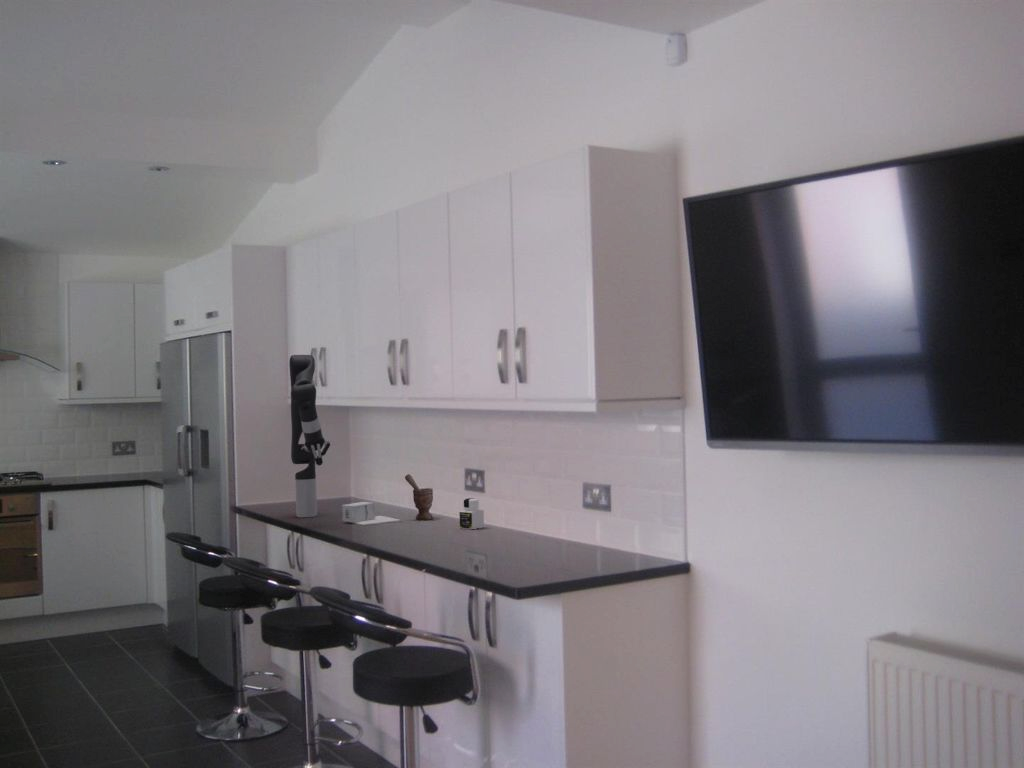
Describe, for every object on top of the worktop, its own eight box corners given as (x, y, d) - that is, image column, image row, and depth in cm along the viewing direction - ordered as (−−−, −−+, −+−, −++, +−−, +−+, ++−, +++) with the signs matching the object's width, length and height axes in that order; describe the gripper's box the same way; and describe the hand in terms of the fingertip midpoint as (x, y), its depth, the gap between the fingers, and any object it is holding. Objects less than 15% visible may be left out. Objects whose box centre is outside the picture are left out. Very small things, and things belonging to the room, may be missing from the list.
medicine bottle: (459, 528, 425) (458, 499, 425) (472, 526, 431) (471, 497, 431) (472, 529, 421) (471, 500, 420) (484, 527, 426) (483, 498, 426)
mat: (343, 521, 460) (343, 519, 460) (381, 516, 470) (381, 515, 470) (362, 525, 443) (362, 524, 443) (401, 521, 453) (401, 519, 453)
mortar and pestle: (414, 521, 450) (412, 475, 450) (404, 520, 457) (402, 474, 457) (437, 519, 457) (435, 473, 457) (427, 517, 464) (425, 472, 464)
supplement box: (352, 505, 449) (374, 502, 459) (341, 504, 454) (363, 501, 463) (353, 523, 449) (375, 519, 459) (342, 521, 454) (364, 517, 464)
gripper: (326, 421, 451) (334, 457, 457) (295, 428, 449) (304, 464, 455) (327, 428, 444) (335, 465, 450) (296, 435, 442) (304, 471, 448)
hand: (319, 464), depth 453 cm, fingers closed
